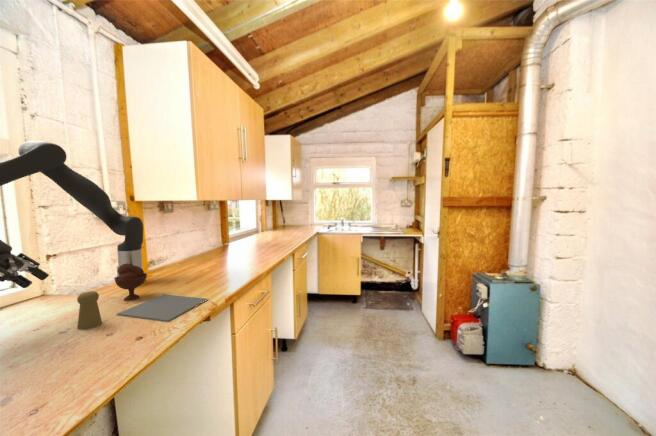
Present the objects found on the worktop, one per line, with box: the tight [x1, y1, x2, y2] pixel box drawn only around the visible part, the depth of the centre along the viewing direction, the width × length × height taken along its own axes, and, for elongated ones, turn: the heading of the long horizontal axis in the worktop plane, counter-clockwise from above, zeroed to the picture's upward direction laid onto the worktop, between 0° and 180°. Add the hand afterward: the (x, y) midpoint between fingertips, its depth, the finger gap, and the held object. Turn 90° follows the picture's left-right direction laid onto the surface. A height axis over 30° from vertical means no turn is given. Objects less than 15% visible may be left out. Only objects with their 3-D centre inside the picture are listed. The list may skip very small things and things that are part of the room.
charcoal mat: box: [116, 293, 208, 323], centre depth 101 cm, size 22×20×1 cm
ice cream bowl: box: [113, 263, 148, 302], centre depth 109 cm, size 11×11×15 cm
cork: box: [76, 291, 103, 331], centre depth 86 cm, size 6×6×11 cm
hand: (37, 281), depth 80 cm, fingers open, 8 cm apart
